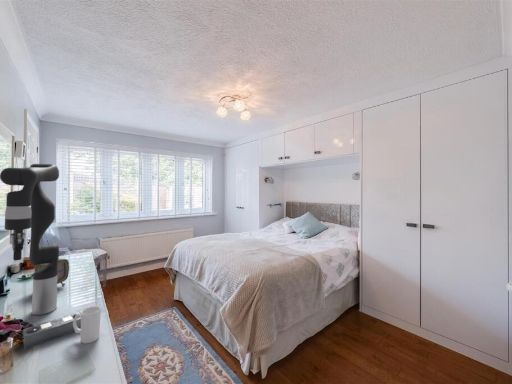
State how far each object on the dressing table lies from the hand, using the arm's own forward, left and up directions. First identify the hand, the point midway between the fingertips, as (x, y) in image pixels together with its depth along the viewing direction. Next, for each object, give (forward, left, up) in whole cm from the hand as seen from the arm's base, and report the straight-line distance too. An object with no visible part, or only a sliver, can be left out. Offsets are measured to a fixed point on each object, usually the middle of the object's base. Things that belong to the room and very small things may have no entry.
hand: (17, 259), depth 94 cm
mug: (+19, +19, -33) cm, 43 cm away
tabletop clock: (-52, +19, -33) cm, 65 cm away
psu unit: (+6, +12, -33) cm, 36 cm away
